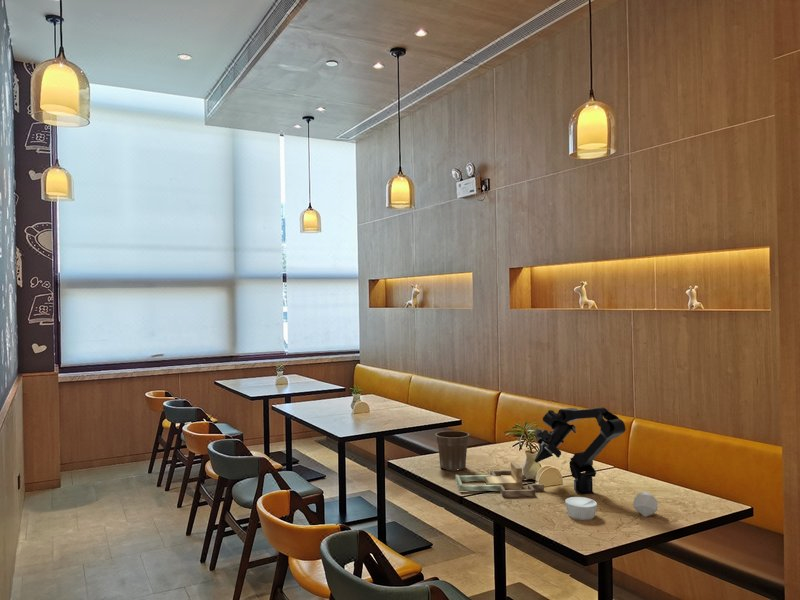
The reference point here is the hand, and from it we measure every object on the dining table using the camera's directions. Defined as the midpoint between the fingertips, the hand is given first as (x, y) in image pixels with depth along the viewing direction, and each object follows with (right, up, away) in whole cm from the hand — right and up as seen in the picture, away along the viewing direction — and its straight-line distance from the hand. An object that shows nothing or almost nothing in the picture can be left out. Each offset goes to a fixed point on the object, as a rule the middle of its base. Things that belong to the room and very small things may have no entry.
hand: (535, 461), depth 256 cm
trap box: (-16, -11, +1) cm, 19 cm away
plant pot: (-33, -11, +30) cm, 46 cm away
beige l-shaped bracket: (-13, -11, +1) cm, 17 cm away
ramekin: (+9, -10, -36) cm, 38 cm away
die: (+33, -10, -35) cm, 49 cm away
